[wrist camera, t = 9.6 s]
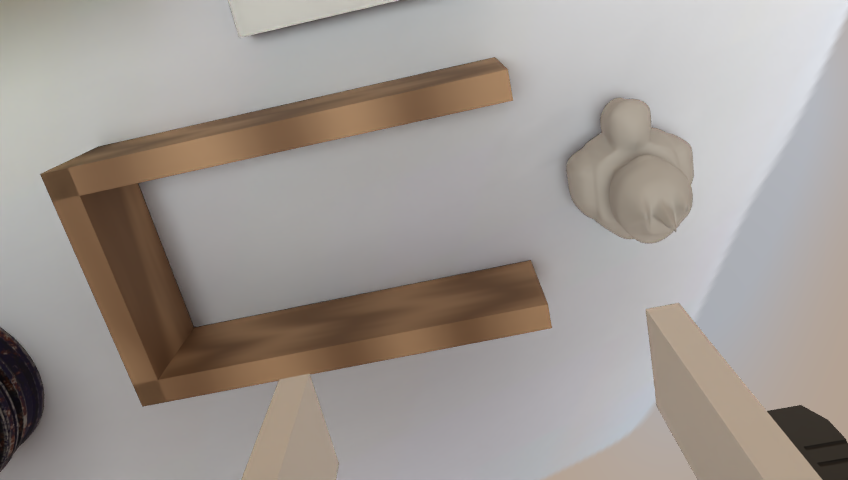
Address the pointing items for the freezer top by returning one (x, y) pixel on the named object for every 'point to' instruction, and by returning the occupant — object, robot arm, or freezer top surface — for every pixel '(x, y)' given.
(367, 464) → the freezer top surface
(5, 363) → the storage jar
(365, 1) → the slate pad
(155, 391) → the shelf bay
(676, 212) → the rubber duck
